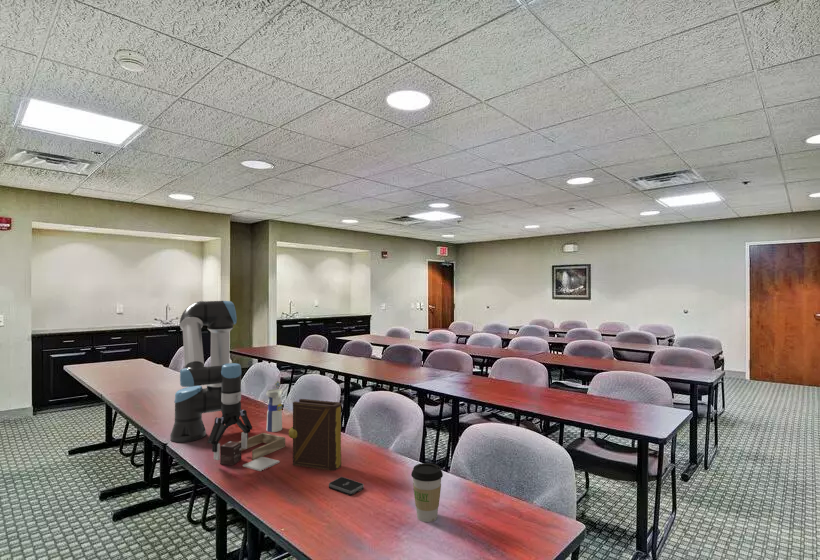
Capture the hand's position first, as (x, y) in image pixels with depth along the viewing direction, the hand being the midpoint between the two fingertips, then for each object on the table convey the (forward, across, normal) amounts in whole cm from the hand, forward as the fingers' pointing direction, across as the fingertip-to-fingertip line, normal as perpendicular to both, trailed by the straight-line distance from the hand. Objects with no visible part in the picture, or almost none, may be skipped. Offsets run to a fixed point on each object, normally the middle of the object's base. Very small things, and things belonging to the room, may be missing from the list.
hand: (230, 453), depth 183 cm
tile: (+3, +4, -14) cm, 14 cm away
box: (+3, 0, -1) cm, 3 cm away
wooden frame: (+3, +14, 0) cm, 14 cm away
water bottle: (+4, +39, +14) cm, 42 cm away
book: (+3, +14, -32) cm, 35 cm away
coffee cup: (+2, -1, -90) cm, 91 cm away
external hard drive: (+3, +3, -56) cm, 57 cm away
